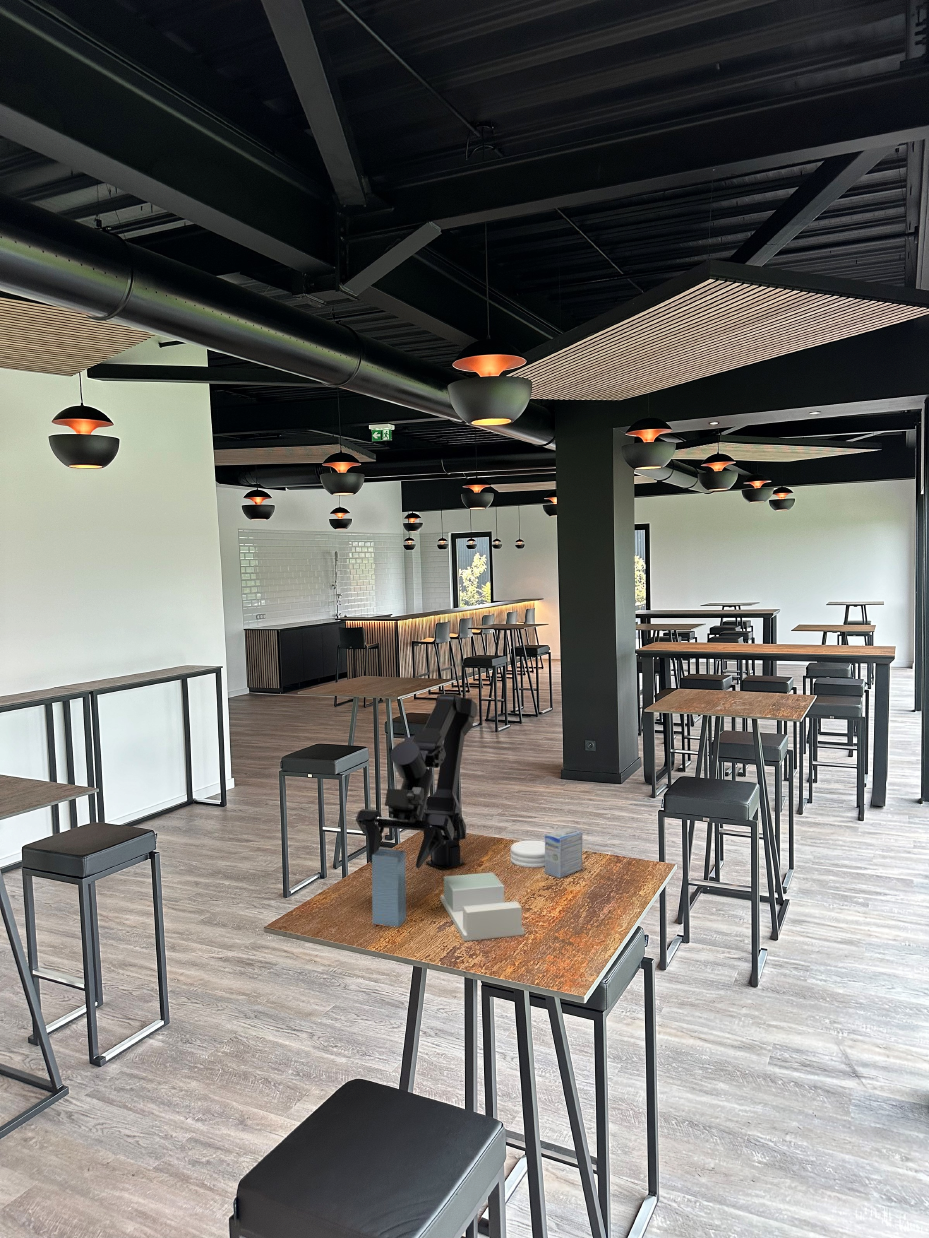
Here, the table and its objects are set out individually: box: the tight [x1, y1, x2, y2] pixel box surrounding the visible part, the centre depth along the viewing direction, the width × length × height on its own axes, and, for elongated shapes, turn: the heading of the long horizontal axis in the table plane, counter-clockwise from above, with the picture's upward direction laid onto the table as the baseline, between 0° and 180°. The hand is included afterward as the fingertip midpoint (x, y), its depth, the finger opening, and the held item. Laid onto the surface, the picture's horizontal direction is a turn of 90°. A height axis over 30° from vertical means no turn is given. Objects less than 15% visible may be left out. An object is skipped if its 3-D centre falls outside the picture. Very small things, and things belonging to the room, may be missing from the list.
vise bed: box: [440, 894, 525, 942], centre depth 154 cm, size 20×11×5 cm, turn 14°
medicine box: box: [544, 827, 583, 879], centre depth 179 cm, size 8×4×9 cm, turn 134°
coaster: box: [509, 840, 545, 868], centre depth 187 cm, size 10×10×4 cm
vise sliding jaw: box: [443, 871, 505, 912], centre depth 159 cm, size 8×10×4 cm
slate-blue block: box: [371, 848, 407, 928], centre depth 152 cm, size 4×5×13 cm
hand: (394, 865), depth 154 cm, fingers open, 9 cm apart
